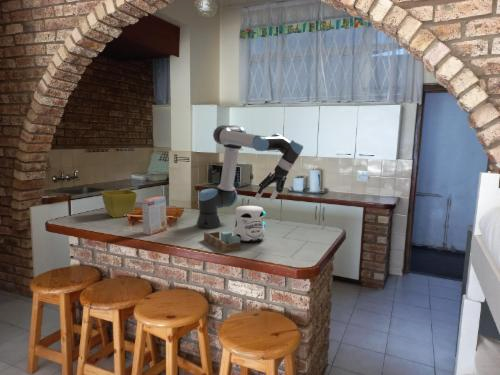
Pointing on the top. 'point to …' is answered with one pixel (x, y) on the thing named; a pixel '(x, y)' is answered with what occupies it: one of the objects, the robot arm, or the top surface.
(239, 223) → the milk container
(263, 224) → the donuts
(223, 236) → the block
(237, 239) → the block
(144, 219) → the cracker box
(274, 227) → the top surface
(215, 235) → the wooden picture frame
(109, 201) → the flower pot
